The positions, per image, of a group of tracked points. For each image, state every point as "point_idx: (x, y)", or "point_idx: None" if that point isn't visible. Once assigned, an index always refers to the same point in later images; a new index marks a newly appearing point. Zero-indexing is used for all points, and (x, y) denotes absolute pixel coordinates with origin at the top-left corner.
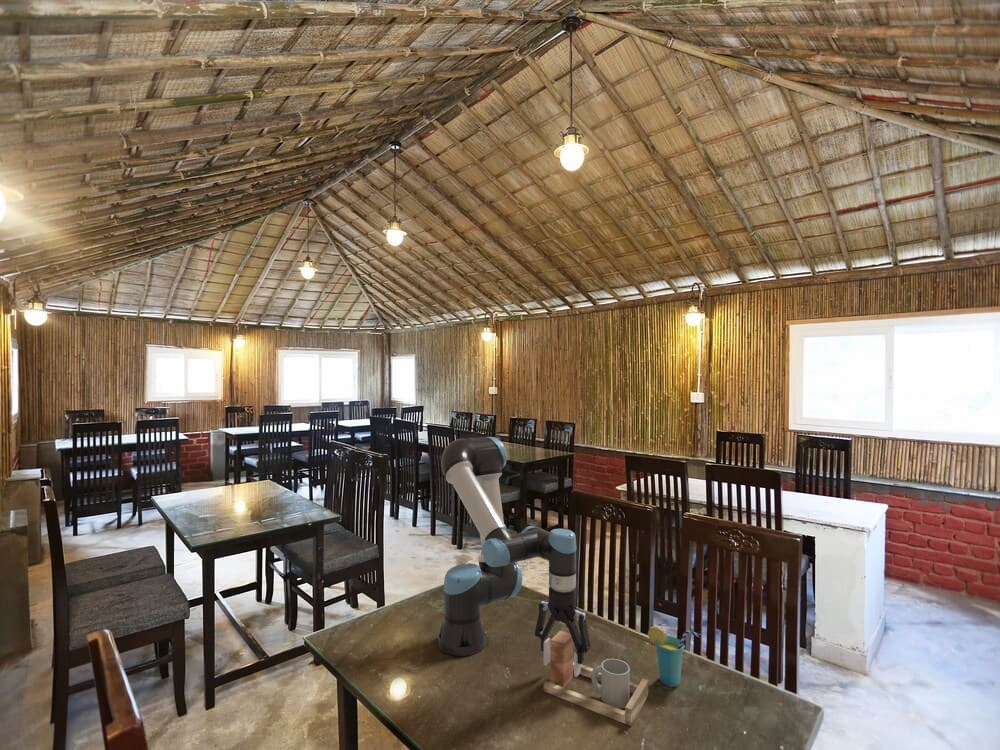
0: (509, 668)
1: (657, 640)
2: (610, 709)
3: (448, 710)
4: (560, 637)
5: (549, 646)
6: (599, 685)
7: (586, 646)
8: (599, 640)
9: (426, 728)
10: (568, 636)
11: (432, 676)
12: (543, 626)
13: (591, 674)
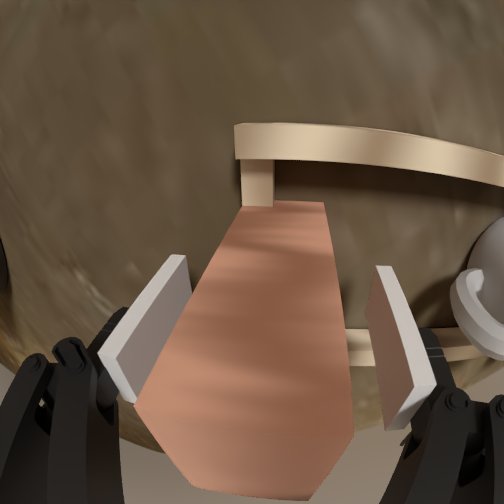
0: (84, 276)
1: None
2: None
3: (136, 420)
4: (236, 478)
5: (146, 327)
6: (475, 291)
7: (480, 469)
8: None
9: (151, 442)
10: (304, 464)
11: None
12: (27, 407)
13: (460, 323)
